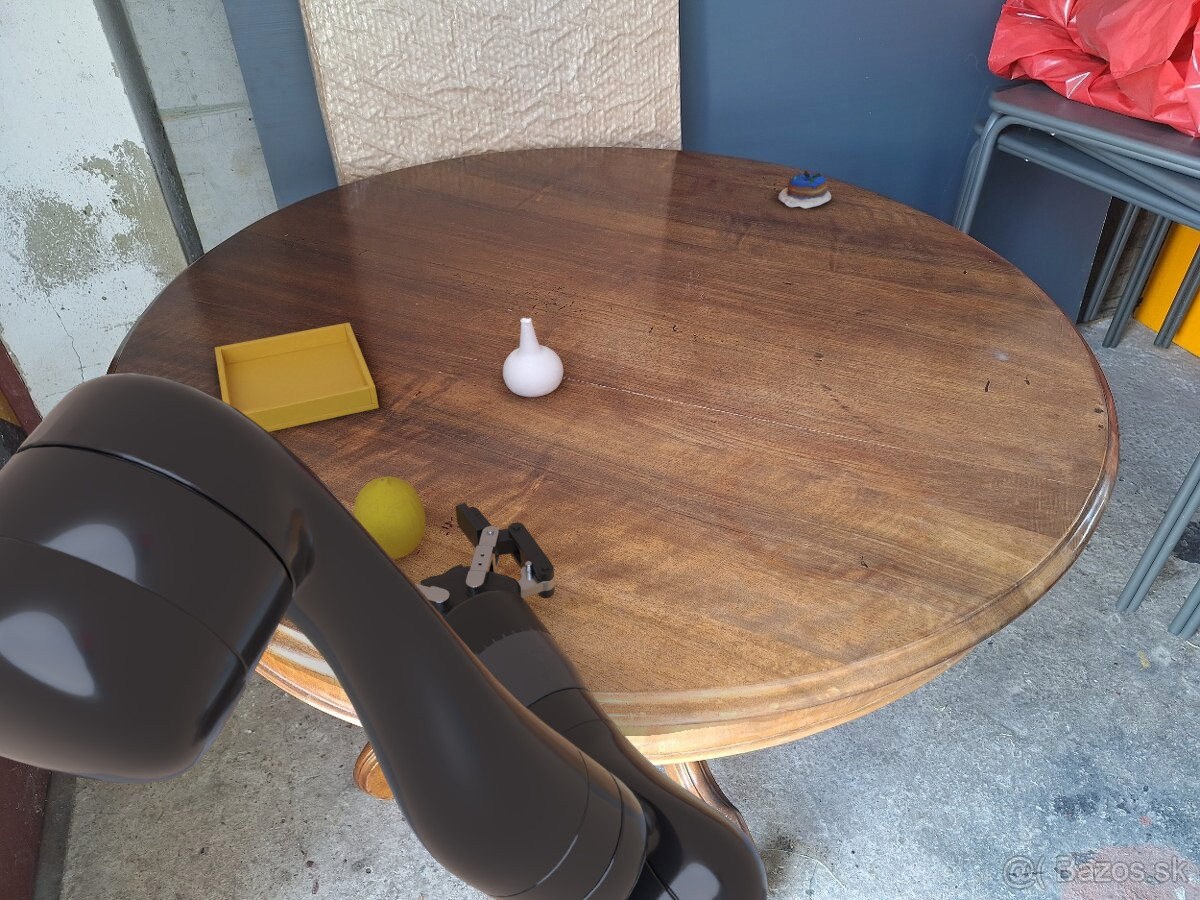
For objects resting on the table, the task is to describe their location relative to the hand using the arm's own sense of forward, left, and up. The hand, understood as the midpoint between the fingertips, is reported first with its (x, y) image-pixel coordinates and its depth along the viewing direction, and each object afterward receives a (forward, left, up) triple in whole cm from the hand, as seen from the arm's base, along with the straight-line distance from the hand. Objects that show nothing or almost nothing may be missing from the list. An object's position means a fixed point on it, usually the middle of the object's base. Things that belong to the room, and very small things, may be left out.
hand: (408, 532), depth 67 cm
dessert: (+73, +57, -6) cm, 93 cm away
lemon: (-1, +4, -6) cm, 8 cm away
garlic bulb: (+18, +24, -6) cm, 31 cm away
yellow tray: (-5, +33, -6) cm, 34 cm away
